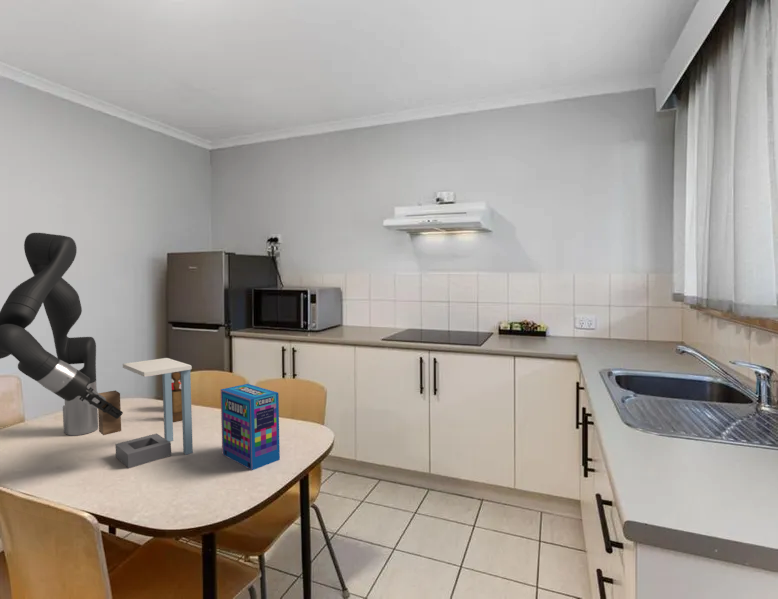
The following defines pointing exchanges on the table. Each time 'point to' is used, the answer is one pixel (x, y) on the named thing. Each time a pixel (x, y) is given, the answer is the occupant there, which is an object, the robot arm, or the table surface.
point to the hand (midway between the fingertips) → (117, 413)
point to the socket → (143, 450)
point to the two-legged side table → (170, 394)
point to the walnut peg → (107, 421)
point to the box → (250, 425)
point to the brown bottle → (176, 398)
